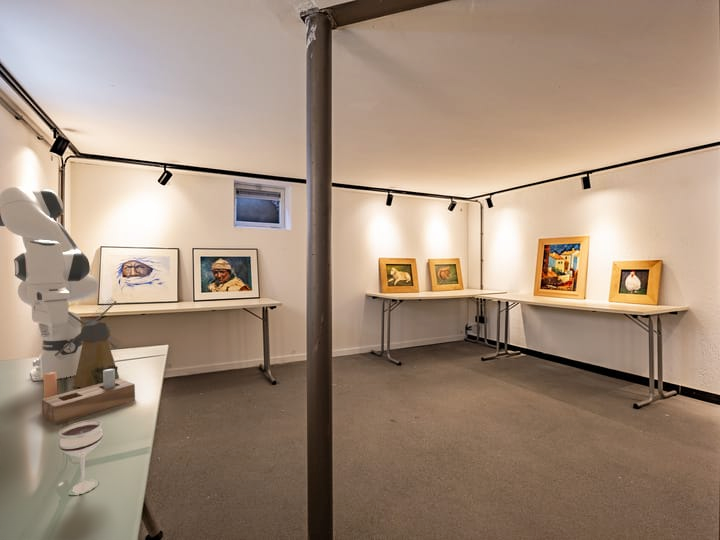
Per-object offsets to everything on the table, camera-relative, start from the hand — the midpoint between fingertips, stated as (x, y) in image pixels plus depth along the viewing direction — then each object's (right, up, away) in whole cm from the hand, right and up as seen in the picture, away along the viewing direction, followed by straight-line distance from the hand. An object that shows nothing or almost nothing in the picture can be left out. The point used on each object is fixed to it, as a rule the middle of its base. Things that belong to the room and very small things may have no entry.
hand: (50, 338), depth 108 cm
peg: (0, -21, 0) cm, 21 cm away
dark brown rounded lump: (+8, -21, +12) cm, 25 cm away
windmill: (-2, -20, +22) cm, 30 cm away
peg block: (+13, -21, -1) cm, 25 cm away
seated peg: (+16, -21, +3) cm, 26 cm away
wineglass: (+40, -22, -38) cm, 60 cm away
